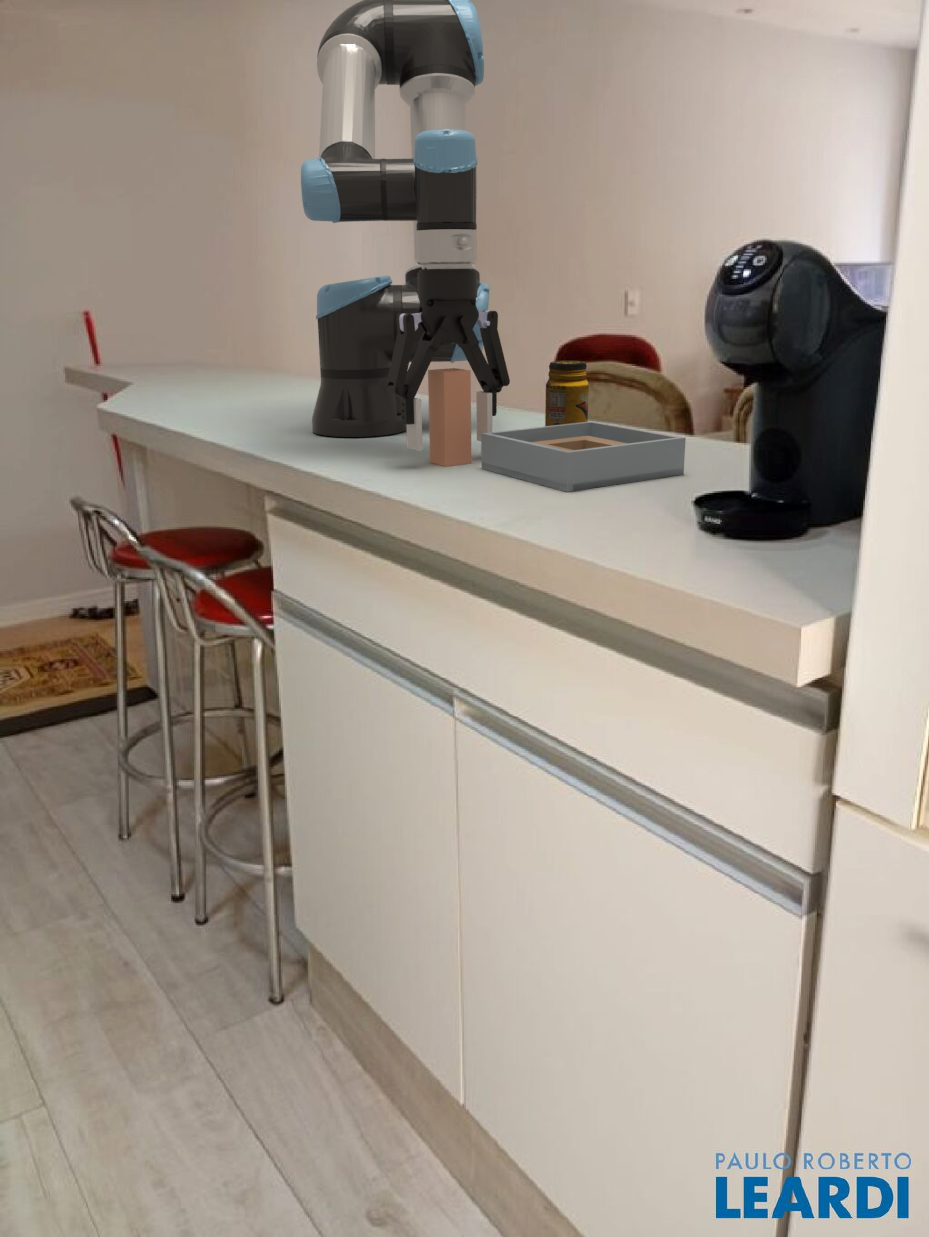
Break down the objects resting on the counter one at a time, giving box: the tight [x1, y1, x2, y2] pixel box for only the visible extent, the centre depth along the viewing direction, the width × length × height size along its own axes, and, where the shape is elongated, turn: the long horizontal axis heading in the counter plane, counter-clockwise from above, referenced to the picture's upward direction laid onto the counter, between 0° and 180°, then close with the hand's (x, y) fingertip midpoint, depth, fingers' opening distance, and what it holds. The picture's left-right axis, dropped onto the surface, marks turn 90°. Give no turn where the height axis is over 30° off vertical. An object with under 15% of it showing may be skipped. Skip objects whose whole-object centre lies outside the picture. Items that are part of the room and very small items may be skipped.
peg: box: [427, 367, 472, 468], centre depth 132 cm, size 4×4×12 cm
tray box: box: [480, 420, 687, 493], centre depth 126 cm, size 18×18×4 cm
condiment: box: [544, 360, 590, 426], centre depth 142 cm, size 7×8×12 cm
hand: (450, 445), depth 133 cm, fingers open, 10 cm apart
